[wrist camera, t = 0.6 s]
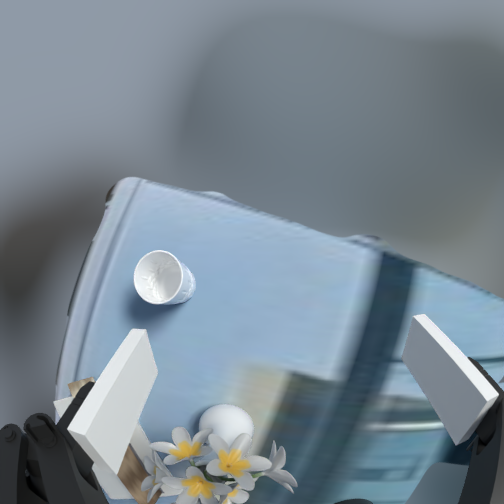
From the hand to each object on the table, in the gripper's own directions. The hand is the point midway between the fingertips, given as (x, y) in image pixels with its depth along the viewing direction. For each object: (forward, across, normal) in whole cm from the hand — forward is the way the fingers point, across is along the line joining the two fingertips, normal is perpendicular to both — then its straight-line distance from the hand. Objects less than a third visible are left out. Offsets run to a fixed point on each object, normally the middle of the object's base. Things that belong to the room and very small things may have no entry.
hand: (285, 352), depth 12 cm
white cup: (+34, +15, +11) cm, 38 cm away
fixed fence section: (+14, +26, +44) cm, 53 cm away
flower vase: (+21, +7, +32) cm, 39 cm away
